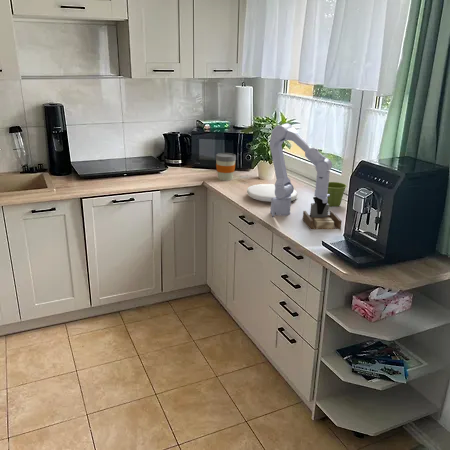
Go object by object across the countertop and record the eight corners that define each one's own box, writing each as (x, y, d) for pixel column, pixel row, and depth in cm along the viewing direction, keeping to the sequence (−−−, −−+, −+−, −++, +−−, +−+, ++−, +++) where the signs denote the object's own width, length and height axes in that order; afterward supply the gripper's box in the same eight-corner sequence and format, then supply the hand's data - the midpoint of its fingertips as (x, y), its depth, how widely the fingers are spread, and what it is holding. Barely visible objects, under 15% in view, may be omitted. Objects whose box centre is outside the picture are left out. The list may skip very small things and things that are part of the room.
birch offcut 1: (314, 226, 214) (315, 220, 213) (313, 224, 216) (313, 218, 214) (331, 225, 214) (332, 219, 213) (330, 224, 216) (330, 218, 215)
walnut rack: (310, 231, 210) (311, 221, 208) (302, 220, 223) (303, 210, 221) (340, 231, 211) (341, 220, 210) (331, 220, 224) (332, 210, 223)
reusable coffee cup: (212, 180, 287) (213, 156, 282) (218, 175, 299) (219, 152, 293) (232, 182, 284) (232, 157, 279) (237, 177, 295) (238, 153, 290)
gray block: (310, 220, 220) (312, 204, 217) (309, 219, 221) (311, 203, 219) (327, 220, 220) (329, 204, 218) (326, 219, 222) (327, 203, 219)
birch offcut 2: (316, 228, 211) (316, 222, 210) (315, 226, 213) (315, 220, 212) (333, 228, 212) (334, 222, 211) (332, 226, 213) (332, 220, 212)
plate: (283, 181, 271) (307, 194, 248) (281, 192, 273) (305, 206, 250) (240, 180, 260) (261, 193, 237) (238, 191, 262) (259, 206, 239)
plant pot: (327, 200, 254) (330, 180, 250) (348, 205, 247) (350, 184, 243) (317, 205, 245) (319, 184, 241) (337, 210, 238) (340, 189, 234)
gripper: (335, 189, 208) (332, 218, 213) (325, 181, 222) (322, 208, 227) (319, 189, 208) (317, 218, 213) (311, 181, 221) (308, 208, 226)
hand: (319, 213), depth 220 cm, fingers closed on gray block, 2 cm apart
